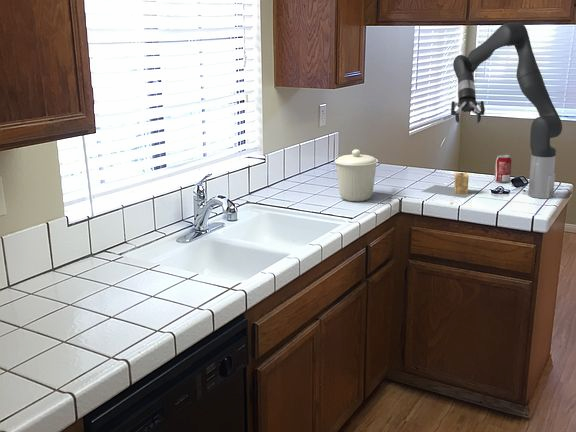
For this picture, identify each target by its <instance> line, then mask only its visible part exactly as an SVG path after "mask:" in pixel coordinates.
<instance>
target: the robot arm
mask: <svg viewBox="0 0 576 432" xmlns="http://www.w3.org/2000/svg"><path fill="white" fill-rule="evenodd" d="M512 46H514V48H515V51H516V54H517V57H518V62H517V66H516V67H517V69H516V73H515V74H516V81H517V83H518V86H519V88H520V91H521V93H522V94H523V95H524V97H525V98H526V99H527V100H528V101H529V102H530V103H531V104H532V105H533V106H534V108H535V109H536V110H537V113H538V115H539V116H538V117H536V118H534V119H533V121H532V123H531V126H530V135H529V138H530V139H529V140H530V142H529V147H530V151H531V155H530V156H531V157H530V166H529V167H530V168H529V180H528V190H527V191H528V193H527V195H528V196H529V197H532V198H535V199H550V198H552V197H553V196H554V191H555V180H556V173H555V167H556V166H555V165H556V153H557V149H556V147H553V146H551V139H552V138H553V139H554V138H557V137H559V136H560V135H561V133H562V131H563V122H562V119H561V117H560V115H559V114H558V112H557V110H556V107H555V106H554V103H553V101H552V99H551V98H550V94H549V92H548V89H547V87H546V84H545V81H544V78H543V76H542V74H541V73H542V72H541V70H540V68H539V65H538V63H537V60H536V57H535V54H534V52H533V48H532V44H531V39H530V35H529V32H528V29H527V27H526V25H525V24H523V22H519V21H518V22H517V21H516V22H509V23H508V22H506V23H503V24H502V25H500V26H499V27H498V28H497V29H496V30H495V31H494V32H493V33H492V34H491V35H490V36H489V37H488V38H487V39H486V40H485V41H484V42H483V43H481V44H480V45H478V46H477V47H475V48H474V49H472V50H471V51H470V52H469V53H468V55H467V56H466V55H463V54H459V55H457V56H456V57H455V58H454V59H453V63H452V66H453V71H454V73H455V75H456V76H455V77H456V78H457V85H458V86H457V99H458V101H457V102H455V101H452V102H451V106H450V107H451V108H450V115H451V116H454V118H455V122H456V123H458V124H459V123H460V115H461V114H462V112H463V113H471V112H472V113H473V114H474V115H476V121H477V122H476V123H478V124H479V123H480V122H481V121H482V116H484V115H485V111H486V110H485V103H484V101H483V100H481V101H480V102H477V98H476V97H477V96H476V87H475V86H476V85H475V77H474V72H475V71H476V70H477V68H478V67H479V66H480V65H481V64H482V63H484V62H485V61H487V60H488V59H489V58H491V56H492V55H493V53H494V52H495V51H496V50H497V49H500V48H503V47H512ZM457 107H458V108H457ZM455 108H457V110H455Z"/></svg>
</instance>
